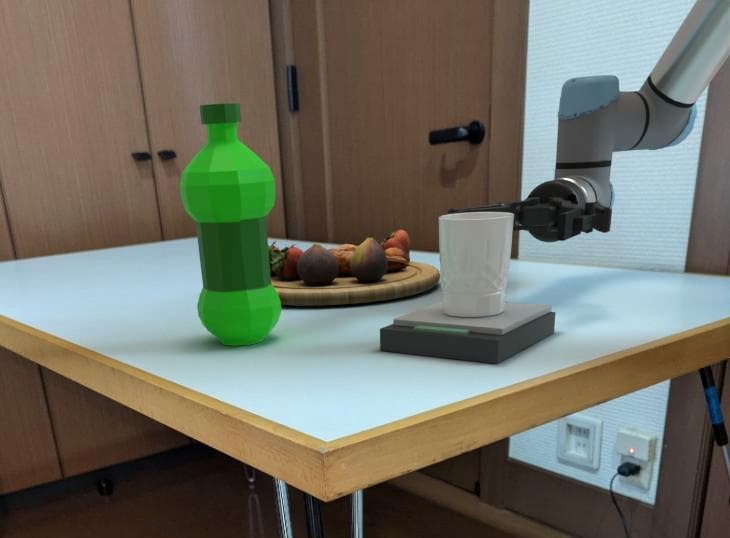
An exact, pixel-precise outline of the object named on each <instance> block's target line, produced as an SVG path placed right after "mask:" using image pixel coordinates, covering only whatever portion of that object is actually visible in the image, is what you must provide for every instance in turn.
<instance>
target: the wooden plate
mask: <svg viewBox="0 0 730 538" xmlns="http://www.w3.org/2000/svg"><path fill="white" fill-rule="evenodd" d="M382 240H383V241H382V242H378V241H377V240H376V239H374V237H367V238H366V239H365V240H364V241H363V242H362V243H360V244H359V245H358V246H356V245H354V244H350V243H344V244H341V245H337V246H336V247H332V248H329V249H327V248H325V247H324V246H322V245H321V244H318V243H313V244H312V246H310V247H309V248H308V249H306V250H304V251H303V250H302V249H301V248H300V247H296V246H295V245H297V244H295V243H294V244H292V245H290V246H284V248H282V249H280V248H279V247H278V246H277V245H275V244H276V243H277V240H276V241H273V242H272V243H271V245H269V244H268V250H269V263H270V276H271V283H272V285H273V287H274V288H275V290H276V292H277V294H278V296H279V298H280V301H281V306H297V307H298V306H299V307H300V306H302V307H304V306H305V307H306V306H307V307H308V306H309V307H310V306H313V307H314V306H338V305H351V304H354V305H355V304H364V303H373V302H381V301H388V300H395V299H398V298H399V299H400V298H405V297H410V296H414V295H418V294H421V293H424V292H427V291H429V290H431V289H433V288H434V287H435V286H437V285H438V283H439V282H440V280H441V276H440V270H439V269H438V268H437V267H436V266H434V265H431V264H429V263H426V262H425V263H424V262H419V261H412V260H411V257H410V250H411V239H410V236H409V234H408V233H407V231H405V230H404V229H399V230H397V229H395V230H394V232H390V233H389V235H388V236H386V237H385V238H382Z"/></svg>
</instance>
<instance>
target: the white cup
mask: <svg viewBox="0 0 730 538" xmlns="http://www.w3.org/2000/svg"><path fill="white" fill-rule="evenodd" d="M513 223H514V214H513V213H506V212H471V213H457V214H449V215H445V214H444V215H440V216H438V245H439V249H438V252H439V265H440V268H439V269H440V270H439V273H440V288H441V290H442V291H441V293H442V294H441V297H442V298H441V299H442V300H441V301H443V312H444V314H447V315H450V316H457V317H485V316H492V315H497V314H500V313H502V312H503V311H504V306H505V302H506V293H507V289H506V288H507V285H508V282H509V271H510V265H511V254H512V244H513V243H512V242H513V232H514V231H513Z"/></svg>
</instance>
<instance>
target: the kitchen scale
mask: <svg viewBox="0 0 730 538" xmlns="http://www.w3.org/2000/svg"><path fill="white" fill-rule="evenodd" d="M552 310H553V306H552V304H537V303H523V302H508V301H505V306H504V311H503V312H502V313H500V314H497V315H492V316H485V317H457V316H450V315H447V314H444V312H443V300H441V301H438V302H435V303H433V304H431V305H428V306H425V307H422V308H419V309H417V310H414V311H411V312H409V313H406V314H403V315H400V316H398V317H395V318H393V321H392V322H393V323H390V324H389V325H386V326H383V327H381V328H379V346H380V347H379V350H380V351H381V352H391V353H398V354H399V353H400V354H409V355H416V356H417V355H418V356H426V357H433V358H434V357H436V358H441V359H442V358H443V359H451V360H461V361H468V362H479V363H486V364H495V365H497V364H499V363H501V362H503V361H505V360H507V359H509V358H511V357H512V356H514V355H516V354H518V353H520V352H523V351H524V350H525V349H527V348H529V347H532V346H533V345H535V344H537V343H538V342H540V341H543V340H544V339H546V338H548V337H550V336H552V335H553V334H555V329H556V328H555V327H556V313H557V312H556V311H552Z"/></svg>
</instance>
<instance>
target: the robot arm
mask: <svg viewBox="0 0 730 538" xmlns="http://www.w3.org/2000/svg"><path fill="white" fill-rule="evenodd" d="M729 57H730V0H696V1H695V3H694V4H693V6H692V7H691V9H690V10H689V12H688V14H687V15H686V17H685V19H684V20H683V21H682V23H681V24H680V26H679V28H677V31H675V34H674V35H673V37H672V39H671V40H670V42H669V44H668V45H667V46H666V48H665V50H664V51H663V52H662V54H661V56H660V57H659V60H657V62H656V64H655V65H654V67H653V68H652V70H651V72H650V73H649V75H648V76H647V78H646V79H645V81H644V82H643V84H642V85H641V87H640V88H639V90H633V91H631V90H630V91H625V90H623V91H622V90H620V80H619V78H618V77H617V75H614V74H603V75H602V74H601V75H600V74H599V75H587V76H578V77H572V78H569V79H567V80H566V81H565V82H564V83H563V84H562V85H561V92H560V97H559V105H558V111H557V138H556V155H555V157H556V158H555V168H554V176H553V177H554V179H551V180H547V181H544V182H542V183H540V184H539V185H537V186H536V187H534V188H533V189H532V190H531V191H530V192H529V194H528V196H527V197H526V198H525V199H524V200H514V201H508V202H506V204H505V203H504V202H502V201H499V202H498V203H493V204H487V205H479V206H468V207H460V208H454V207H453V208H452V207H451V208H449V209H447V210H446V211H447V212H446V214H444V215H449V214H457V213H471V212H506V213H513V214H514V223H513V232H517V231H526V232H528V233H529V234H530V236H532V237H533V238H534V239H536V240H538V241H540V242H543V243H556V242H566V241H567V240H569V239H572V238H574V237H576V236H579V235H581V234H582V233H585V234H590V233H593V232H594V230H595V231H597V232H600V233H602V234H606V233H609V232H611V226H612V216H613V215H612V214H613V207H614V203H615V198H616V195H615V189H614V186H613V183H612V182H611V171H612V170H611V169H612V160H613V153H618V152H629V151H630V152H631V151H647V150H648V151H656V150H662V149H665V148H670V147H675V146H677V145H679V144H681V143H682V142H683V141H685V140H686V139H687V138H688V137H689V136H690V134H691V133H692V131H693V130H694V125H695V122H696V119H697V118H698V117H697V115H698V108H697V101H698V100H699V98H700V97H701V96H702V94H703V93H704V92H705V90H706V88H707V87H708V86H709V84H710V83H711V82H712V80H713V79H714V77H716V75H717V73H718V72H719V71H720V69H721V68H722V67H723V65H724V63H725V62H726V61H727V59H729ZM516 224H518V225H516Z"/></svg>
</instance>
